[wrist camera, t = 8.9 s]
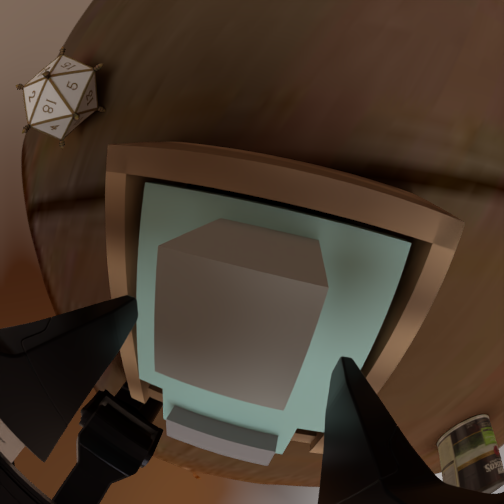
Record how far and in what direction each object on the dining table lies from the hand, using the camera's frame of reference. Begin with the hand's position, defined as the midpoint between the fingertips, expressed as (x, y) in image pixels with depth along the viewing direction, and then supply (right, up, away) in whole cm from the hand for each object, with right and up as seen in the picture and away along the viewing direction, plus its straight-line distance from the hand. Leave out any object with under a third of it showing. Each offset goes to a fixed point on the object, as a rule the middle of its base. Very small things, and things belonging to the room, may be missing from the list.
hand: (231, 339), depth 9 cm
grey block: (+1, +2, +4) cm, 5 cm away
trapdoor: (0, -3, +7) cm, 8 cm away
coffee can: (+35, -26, +16) cm, 47 cm away
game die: (-15, +18, +10) cm, 26 cm away
